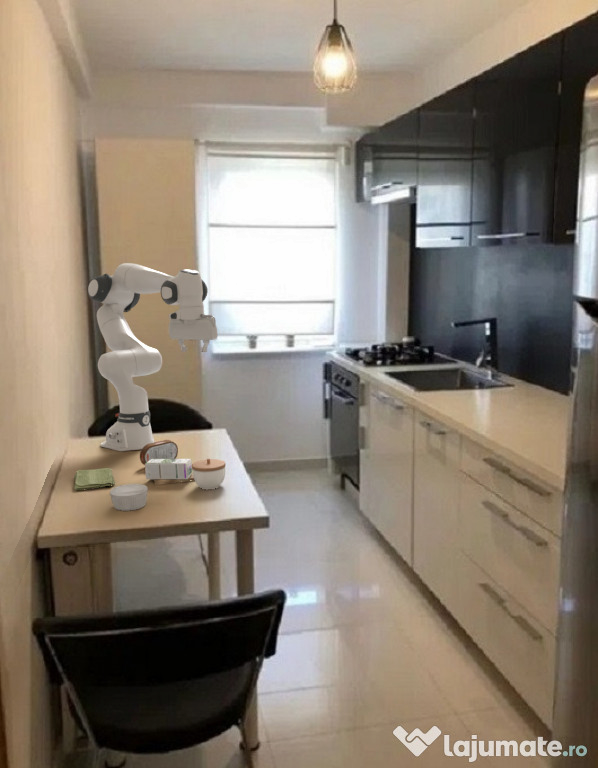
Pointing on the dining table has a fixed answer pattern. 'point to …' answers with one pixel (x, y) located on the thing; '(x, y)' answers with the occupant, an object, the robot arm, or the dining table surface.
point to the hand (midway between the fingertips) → (194, 351)
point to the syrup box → (168, 469)
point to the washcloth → (93, 478)
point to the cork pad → (171, 480)
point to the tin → (159, 451)
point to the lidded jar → (209, 473)
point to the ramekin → (129, 496)
